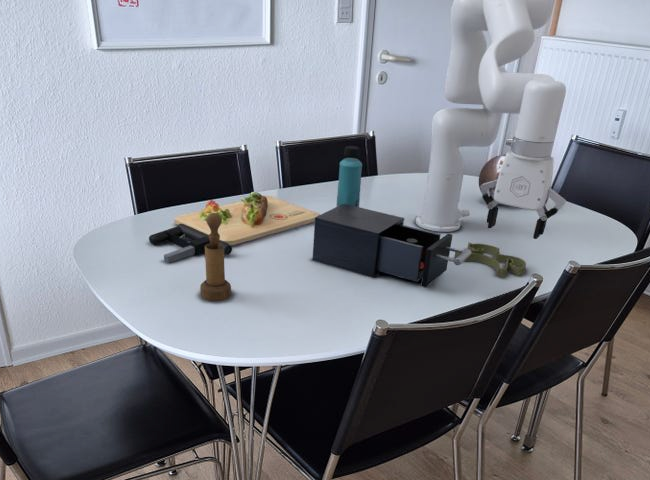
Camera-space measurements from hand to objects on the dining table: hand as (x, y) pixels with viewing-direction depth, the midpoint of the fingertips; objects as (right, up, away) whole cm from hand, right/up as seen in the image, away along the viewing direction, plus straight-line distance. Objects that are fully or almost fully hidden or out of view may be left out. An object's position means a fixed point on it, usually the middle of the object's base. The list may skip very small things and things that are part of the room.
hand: (513, 231), depth 136 cm
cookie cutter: (+3, -3, +27) cm, 27 cm away
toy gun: (-73, 0, +24) cm, 77 cm away
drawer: (-17, -7, +16) cm, 25 cm away
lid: (-19, -5, +17) cm, 26 cm away
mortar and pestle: (-63, -13, +3) cm, 64 cm away
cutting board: (-59, +11, +44) cm, 74 cm away
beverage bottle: (-32, +14, +51) cm, 62 cm away
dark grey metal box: (-31, -2, +24) cm, 39 cm away
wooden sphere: (+18, +23, +71) cm, 76 cm away
